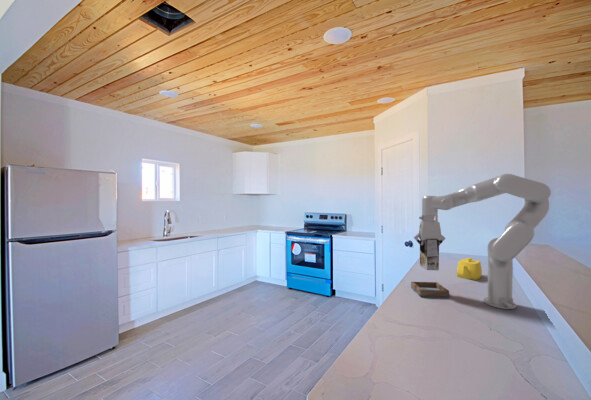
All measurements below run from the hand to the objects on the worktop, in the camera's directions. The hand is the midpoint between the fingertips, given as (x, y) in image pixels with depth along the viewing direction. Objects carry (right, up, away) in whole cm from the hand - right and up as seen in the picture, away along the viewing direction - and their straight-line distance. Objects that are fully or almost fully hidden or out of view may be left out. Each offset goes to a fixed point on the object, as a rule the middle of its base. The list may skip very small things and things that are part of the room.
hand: (429, 252), depth 147 cm
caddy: (0, -22, 0) cm, 22 cm away
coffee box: (0, -9, 0) cm, 9 cm away
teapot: (+39, -21, +29) cm, 53 cm away
